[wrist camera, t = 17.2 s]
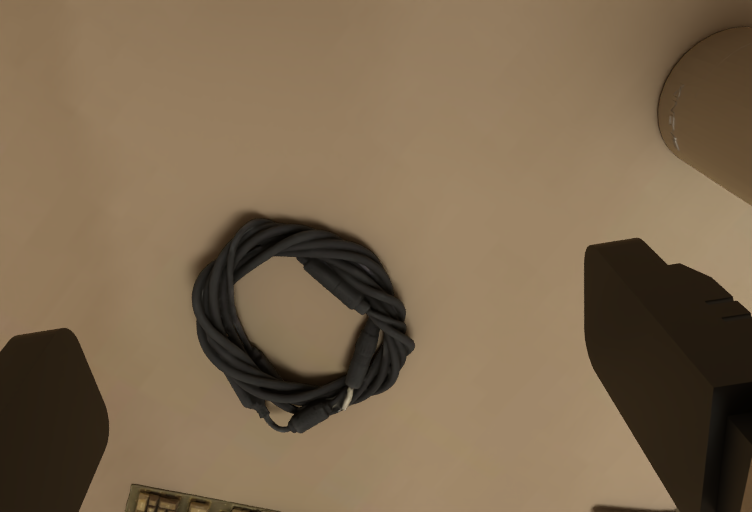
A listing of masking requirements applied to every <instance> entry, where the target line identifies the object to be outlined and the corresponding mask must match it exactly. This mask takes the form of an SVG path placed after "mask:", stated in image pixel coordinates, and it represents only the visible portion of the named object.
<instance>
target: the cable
mask: <svg viewBox="0 0 752 512" xmlns="http://www.w3.org/2000/svg"><path fill="white" fill-rule="evenodd" d="M273 256H284V257H285V256H287V257H296V258H297V260H298V261H299V262H300V263H302V264H303V265H304V270H305V271H307V272H308V273H309V274H310V275H311V276H312V277H313V278H314V279H316V280H317V281H318V282H319V283H320V284H322V285H323V287H325V288H326V289H327V290H329V291H330V292H331V293H332V294H333V295H335V296H336V297H337V298H338V299H339V300H340V301H341V302H342V303H343V304H345V305H346V306H347V307H348V308H349V309H354V310H356V311H357V312H358V313H360V314H361V315H364V314H365V313H366V314H367V315H368V316H369V318H368V320H367V322H366V325H365V327H364V329H363V330H362V331H361V333H360V335H359V338H358V340H357V342H356V346H355V351H354V354H353V357H352V359H351V362H350V366H349V369H348V373H347V375H346V376H344V377H342V378H339V379H337V380H335V381H333V382H330V383H328V384H326V385H323V386H315V385H308V384H302V383H293V382H285V381H283V379H282V378H281V377H280V376H279V374H278V373H277V371H276V370H275V369H274V368H273V366H272V365H271V364H270V362H269V361H268V360H267V358H266V357H265V356H264V354H263V353H262V352H261V351H260V350H257V349H256V348H255V347H251V345H250V343H249V341H248V339H247V337H246V335H245V333H244V331H243V329H242V327H241V324H240V322H239V319H238V317H237V314H236V309H235V305H234V286H233V285H234V284H235V283H236V282H237V281H238V280H240V279H241V278H242V277H243V276H245V275H246V274H247V273H249V272H250V271H251V270H253V269H254V268H256V267H257V266H259V265H260V264H262V263H263V262H265V261H267V260H268V259H270V258H271V257H273ZM192 305H193V310H194V314H195V316H196V318H197V321H196V322H197V335H198V339H199V342H200V345H201V347H202V349H203V351H204V353H205V354H206V356H207V357H208V359H209V360H210V361H211V362H212V363H213V364H214V365H215V366H216V367H217V368H218V369H219V370H221V371H222V372H224V374H225V376H226V377H227V379H228V381H229V382H230V384H231V386H232V388H233V389H234V391H235V393H236V394H237V396H238V398H239V400H240V401H241V403H242V405H243V406H244V407H246V408H249V409H254V410H256V411H257V413H259V416H260V418H264V419H265V421H266V422H267V424H268V425H269V426H271V427H272V428H273V429H274V430H276V431H279V432H289V431H292V432H293V433H296V432H298V433H303V432H305V431H306V430H308V429H310V428H311V427H313V426H315V425H317V424H318V423H320V422H322V421H324V420H325V419H327V418H328V417H329V415H333V414H336V413H338V412H340V411H342V410H344V411H345V410H346V409H347V407H348V406H350V405H352V404H356V403H359V402H362V401H364V400H366V399H367V398H369V397H370V396H373V395H377V394H380V393H382V392H384V391H386V390H388V389H389V388H390V387H392V386H393V384H394V383H395V382H396V380H397V378H398V375H399V371H400V370H401V368H402V367H403V365H404V363H405V361H406V356H408V355H409V354H410V353H411V352H412V351H413V350H414V348H415V343H414V341H413V340H412V339H411V338H409V337H408V336H406V335H405V332H406V324H405V323H404V320H405V316H406V309H405V307H404V305H403V303H402V302H401V301H400V300H399V299H397V298H396V297H394V292H393V287H392V283H391V281H390V278H389V276H388V275H387V273H386V272H385V270H384V269H383V266H382V264H381V263H380V261H379V259H378V258H377V257H376V256H375V255H374V254H373V253H372V252H371V251H370V250H368V249H367V248H365V247H363V246H362V245H359V244H357V243H354V242H350V241H345V240H342V239H341V238H340V237H339V236H337V235H336V234H334V233H331V232H328V231H324V230H315V229H313V228H310V227H307V226H304V225H298V224H283V223H275V222H273V221H271V220H268V219H254V220H251V221H249V222H248V223H246V224H245V225H244V226H242V227H241V228H240V229H239V230H238V232H237V233H236V235H235V237H234V238H233V239H232V240H231V241H230V242H229V243H228V244H227V245H226V246H225V247H224V249H223V250H222V251H221V253H220V254H219V256H218V258H217V259H216V260H214V261H213V262H211V263H210V264H209V265H207V266H206V267H205V268H204V269H203V270H202V272H201V273H200V274H199V276H198V278H197V279H196V281H195V284H194V287H193V291H192ZM233 324H234V326H235V328H236V330H237V332H238V334H239V336H240V339H241V341H242V342H243V344H244V345H243V344H242V343H241V341H240V339H239V337H238V335H237V333H236V330H235V328H234V326H233ZM380 329H381V330H382V331H384V341H383V345H382V346H381V348H380V350H379V352H378V353H377V355H376V357H375V359H374V361H373V362H372V364H371V365H370V366H369V364H370V362H371V359H372V356H373V354H374V353H375V350H376V347H377V342H378V337H379V331H380ZM226 334H228V336H229V337H228V336H227V335H226ZM265 400H268V401H271V402H272V403H274V404H275V405H276V406H278V407H279V408H281V409H283V410H285V411H287V412H290V413H292V414H294V415H293V416H292V418H291V419H290V421H289V422H288V426H287V427H281V426H278V425H277V424H275V423H274V421H272V419H271V418H270V417H269V414H270V412H269V411H268V409H267V407H266V405H265ZM292 404H294V405H300V406H302V407H296V406H294V405H292Z"/></svg>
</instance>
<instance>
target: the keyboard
mask: <svg viewBox="0 0 752 512" xmlns="http://www.w3.org/2000/svg"><path fill="white" fill-rule="evenodd" d="M125 512H280V511H275V510H270V509H264V508H259V507H254V506H249V505H243V504H238V503H234V502H227V501H223V500H218V499H213V498H207V497H202V496H197V495H192V494H186V493H181V492H175V491H169V490H164V489H159V488H153V487H149V486H143V485H138V484H132V485H131V490H130V494H129V498H128V501H127V505H126V510H125Z"/></svg>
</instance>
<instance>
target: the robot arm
mask: <svg viewBox="0 0 752 512" xmlns="http://www.w3.org/2000/svg"><path fill="white" fill-rule="evenodd" d="M658 119H659V128H660V131H661V134H662V138H663V140H664V141H665V143H666V145H667V146H668V148H669V149H670V150H671V151H672V152H673V153H674V154H675V155H676V156H677V157H678V158H679V159H681V160H682V161H684V162H686V163H687V164H689V165H690V166H692V167H693V168H695V169H696V170H698V171H699V172H701V173H702V174H704V175H705V176H707V177H708V178H710V179H711V180H713V181H714V182H716V183H717V184H719V185H720V186H722V187H723V188H725V189H726V190H728V191H729V192H731V193H733V194H734V195H736V196H737V197H739V198H740V199H742V200H743V201H745V202H746V203H748V204H749V205H751V206H752V27H738V28H731V29H726V30H724V31H721V32H718V33H715V34H713V35H711V36H709V37H708V38H706V39H704V40H702V41H701V42H699V43H698V44H696V45H695V46H694V47H693V48H692V49H691V50H689V51H688V52H687V53H686V54H685V55H684V56H683V57H682V58H681V60H680V61H679V62H678V63H677V64H676V66H675V67H674V68H673V70H672V72H671V73H670V75H669V77H668V79H667V80H666V82H665V85H664V88H663V91H662V94H661V96H660V102H659V109H658ZM584 332H585V341H586V347H587V351H588V355H589V359H590V361H591V364H592V366H593V369H594V371H595V372H596V374H597V376H598V377H599V379H600V381H601V382H602V384H603V386H604V387H605V389H606V391H607V392H608V394H609V396H610V397H611V399H612V401H613V402H614V404H615V405H616V407H617V409H618V410H619V412H620V414H621V415H622V417H623V419H624V420H625V422H626V424H627V425H628V427H629V429H630V430H631V432H632V434H633V435H634V437H635V439H636V440H637V442H638V443H639V445H640V447H641V448H642V450H643V452H644V453H645V455H646V457H647V458H648V460H649V462H650V463H651V465H652V467H653V468H654V470H655V472H656V473H657V475H658V477H659V478H660V480H661V481H662V483H663V485H664V486H665V488H666V490H667V491H668V493H669V495H670V496H671V498H672V500H673V501H674V503H675V505H676V506H677V508H678V510H679V511H680V512H752V317H751V313H750V312H749V311H748V310H747V309H746V308H745V307H744V306H743V305H741V304H740V303H739V302H738V301H734V300H733V296H731V295H730V294H729V293H728V292H727V291H726V290H725V289H724V288H723V287H722V286H720V285H719V284H718V283H717V282H716V281H715V280H714V279H713V278H712V277H709V276H707V275H705V274H703V273H700V272H698V271H696V270H694V269H692V268H689V267H687V266H685V265H683V264H680V263H678V264H672V265H667V264H666V263H665V262H664V261H663V260H662V259H661V258H660V257H659V256H658V255H657V254H656V253H655V252H654V251H653V250H652V249H651V248H650V247H649V246H648V245H647V244H646V243H645V242H644V241H643V240H642V239H640V238H632V239H626V240H620V241H613V242H607V243H601V244H594V245H590V246H588V247H587V249H586V252H585V258H584ZM108 436H109V419H108V413H107V409H106V406H105V403H104V401H103V399H102V396H101V394H100V391H99V389H98V387H97V384H96V382H95V379H94V377H93V375H92V372H91V370H90V367H89V365H88V363H87V360H86V358H85V355H84V353H83V351H82V348H81V346H80V343H79V341H78V339H77V337H76V336H75V334H74V333H73V332H72V331H71V330H69V329H67V328H60V329H54V330H47V331H41V332H35V333H29V334H22V335H17V336H14V337H13V338H11V339H10V340H9V341H8V343H7V344H6V345H5V347H4V348H3V349H2V351H1V352H0V512H79V509H80V507H81V505H82V502H83V500H84V498H85V495H86V493H87V491H88V488H89V486H90V484H91V481H92V479H93V477H94V474H95V472H96V470H97V467H98V465H99V463H100V460H101V458H102V455H103V453H104V451H105V448H106V446H107V442H108Z"/></svg>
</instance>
